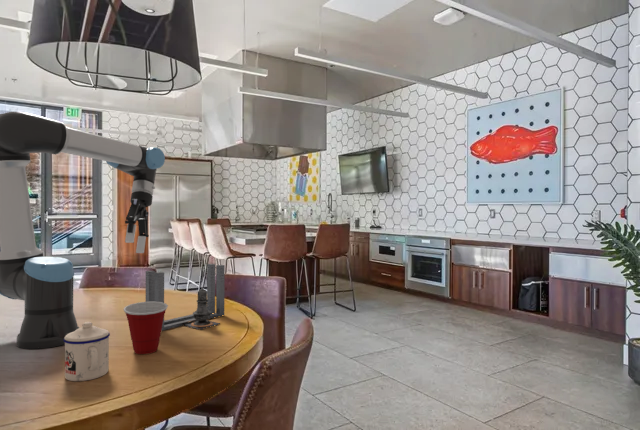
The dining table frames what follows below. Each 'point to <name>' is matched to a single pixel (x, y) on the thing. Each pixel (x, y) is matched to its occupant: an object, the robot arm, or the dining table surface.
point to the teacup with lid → (86, 353)
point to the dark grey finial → (202, 309)
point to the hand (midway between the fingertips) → (134, 247)
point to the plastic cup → (145, 325)
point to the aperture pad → (201, 326)
